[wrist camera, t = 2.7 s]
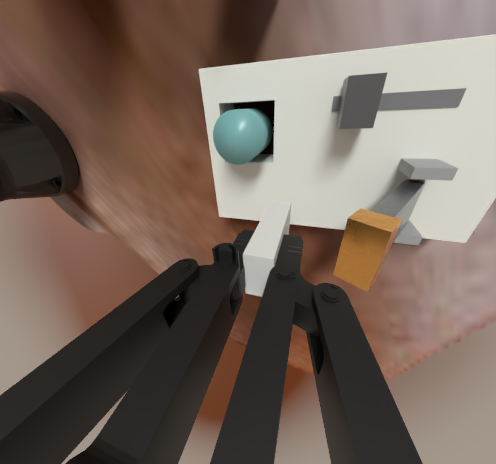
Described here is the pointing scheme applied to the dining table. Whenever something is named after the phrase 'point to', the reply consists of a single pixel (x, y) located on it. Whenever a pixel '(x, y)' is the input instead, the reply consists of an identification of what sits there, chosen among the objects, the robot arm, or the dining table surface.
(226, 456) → the robot arm
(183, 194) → the dining table surface
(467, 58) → the panel
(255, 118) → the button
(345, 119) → the slider
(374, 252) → the lever
